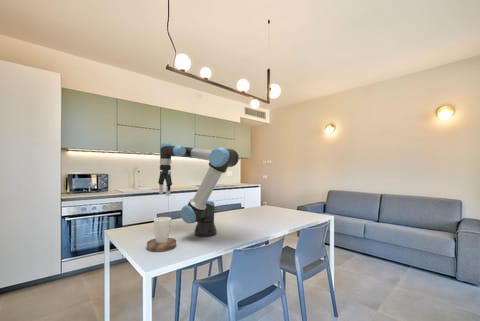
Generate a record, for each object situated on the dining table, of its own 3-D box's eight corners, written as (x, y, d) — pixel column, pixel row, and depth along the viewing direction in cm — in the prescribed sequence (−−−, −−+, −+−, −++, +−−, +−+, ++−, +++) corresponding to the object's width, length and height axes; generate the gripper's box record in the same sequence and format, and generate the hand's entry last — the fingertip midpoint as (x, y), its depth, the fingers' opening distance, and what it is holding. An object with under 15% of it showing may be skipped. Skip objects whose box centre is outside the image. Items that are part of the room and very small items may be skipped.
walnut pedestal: (180, 243, 136) (180, 238, 136) (169, 252, 120) (169, 247, 120) (155, 241, 138) (155, 236, 138) (141, 251, 122) (141, 245, 122)
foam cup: (153, 245, 123) (154, 221, 124) (152, 240, 132) (153, 217, 132) (171, 243, 127) (172, 219, 127) (169, 238, 135) (170, 216, 136)
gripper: (177, 164, 153) (176, 196, 152) (164, 165, 172) (163, 192, 171) (166, 164, 148) (165, 196, 147) (154, 164, 167) (153, 193, 166)
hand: (164, 194), depth 159 cm, fingers open, 13 cm apart
